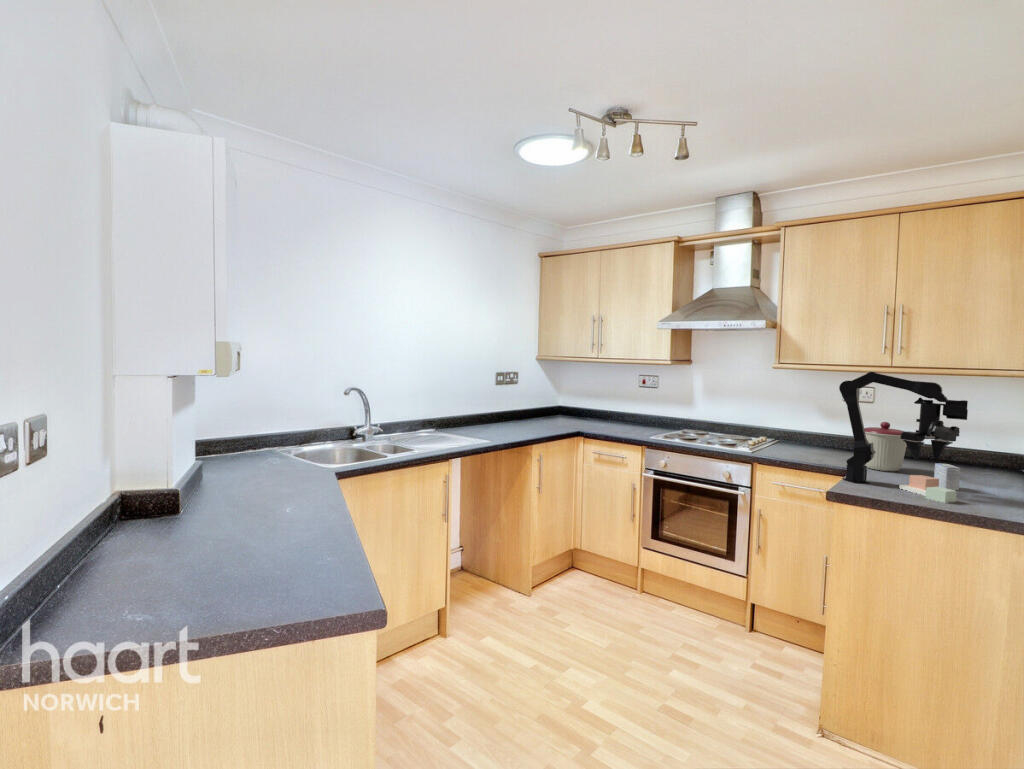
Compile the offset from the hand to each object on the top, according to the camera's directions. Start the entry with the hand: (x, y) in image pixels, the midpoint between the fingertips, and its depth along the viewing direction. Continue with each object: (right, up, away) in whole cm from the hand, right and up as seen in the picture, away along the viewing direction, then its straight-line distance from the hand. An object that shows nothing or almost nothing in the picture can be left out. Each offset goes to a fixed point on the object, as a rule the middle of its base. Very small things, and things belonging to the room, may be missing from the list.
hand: (926, 460), depth 190 cm
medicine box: (+15, -12, +10) cm, 21 cm away
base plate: (-1, -12, +1) cm, 12 cm away
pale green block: (-3, -12, -10) cm, 16 cm away
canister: (+13, -10, +42) cm, 45 cm away
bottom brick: (-1, -10, +1) cm, 10 cm away
